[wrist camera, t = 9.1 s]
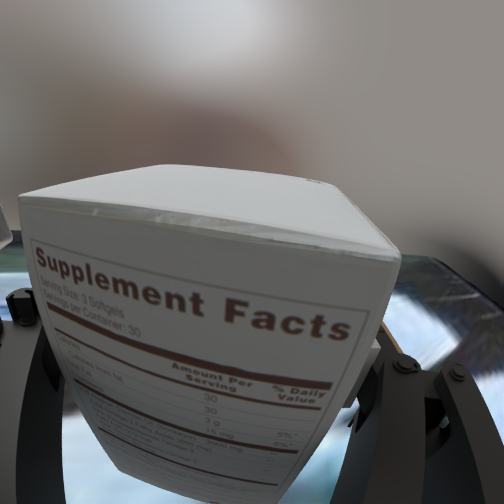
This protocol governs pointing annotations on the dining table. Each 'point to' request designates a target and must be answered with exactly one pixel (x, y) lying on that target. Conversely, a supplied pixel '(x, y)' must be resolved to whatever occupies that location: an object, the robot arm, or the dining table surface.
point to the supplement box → (207, 318)
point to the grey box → (4, 230)
